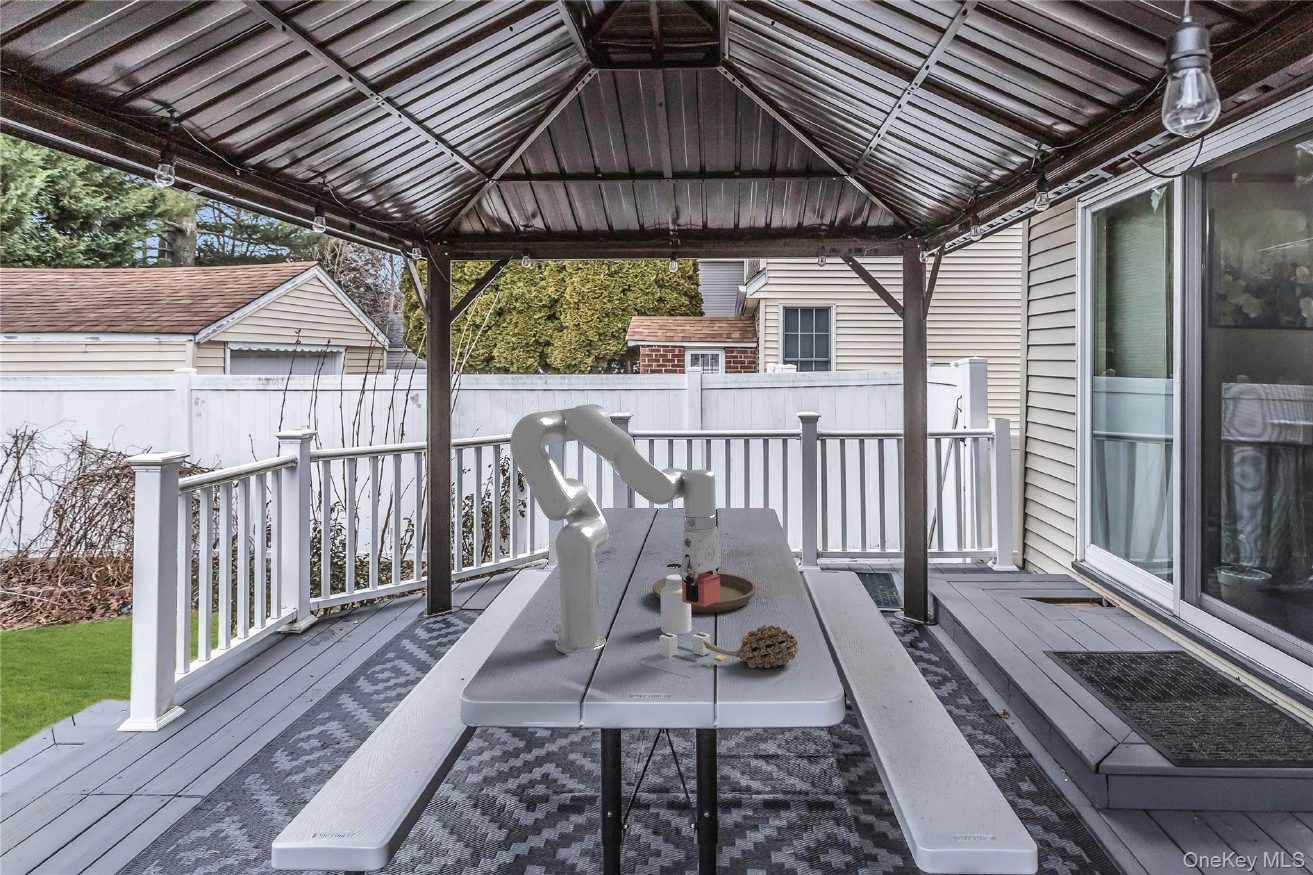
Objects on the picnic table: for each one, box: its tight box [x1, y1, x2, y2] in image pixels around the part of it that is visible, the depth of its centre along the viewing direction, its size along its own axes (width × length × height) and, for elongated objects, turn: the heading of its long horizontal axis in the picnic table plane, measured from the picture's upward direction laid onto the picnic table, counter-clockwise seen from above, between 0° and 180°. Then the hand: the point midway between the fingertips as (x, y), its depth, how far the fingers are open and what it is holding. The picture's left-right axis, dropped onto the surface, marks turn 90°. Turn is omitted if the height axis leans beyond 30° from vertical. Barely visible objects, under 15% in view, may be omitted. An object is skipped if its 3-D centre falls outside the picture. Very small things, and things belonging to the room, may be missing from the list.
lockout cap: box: [682, 573, 720, 607], centre depth 180 cm, size 6×6×6 cm
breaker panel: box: [637, 633, 732, 679], centre depth 178 cm, size 15×18×6 cm
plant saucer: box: [652, 572, 757, 614], centre depth 228 cm, size 31×31×5 cm
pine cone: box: [702, 624, 799, 669], centre depth 174 cm, size 22×10×10 cm, turn 85°
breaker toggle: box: [692, 632, 711, 656], centre depth 181 cm, size 3×3×4 cm
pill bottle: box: [660, 574, 692, 636], centre depth 198 cm, size 8×8×15 cm
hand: (701, 597), depth 180 cm, fingers closed on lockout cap, 6 cm apart
